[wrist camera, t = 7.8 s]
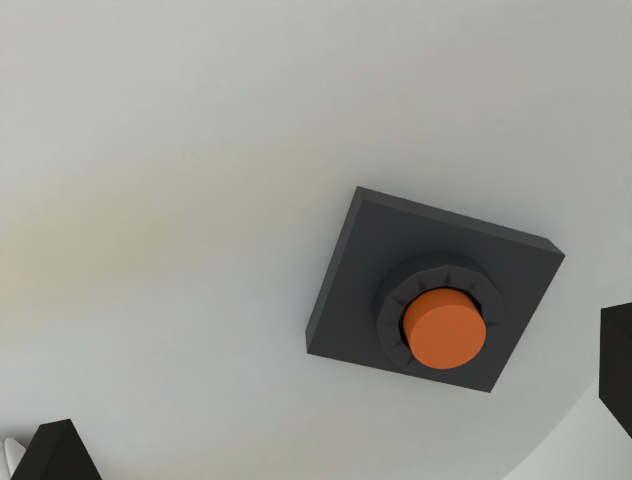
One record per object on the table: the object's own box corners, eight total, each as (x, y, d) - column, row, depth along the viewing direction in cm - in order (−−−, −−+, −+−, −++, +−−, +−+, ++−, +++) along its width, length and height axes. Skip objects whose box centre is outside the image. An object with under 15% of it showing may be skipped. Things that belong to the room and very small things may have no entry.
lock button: (487, 297, 29) (499, 315, 28) (457, 356, 31) (467, 376, 29) (418, 280, 28) (427, 297, 27) (392, 341, 30) (398, 361, 28)
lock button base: (548, 238, 32) (582, 270, 28) (478, 370, 36) (500, 413, 32) (357, 185, 30) (367, 212, 26) (305, 332, 34) (308, 373, 30)
